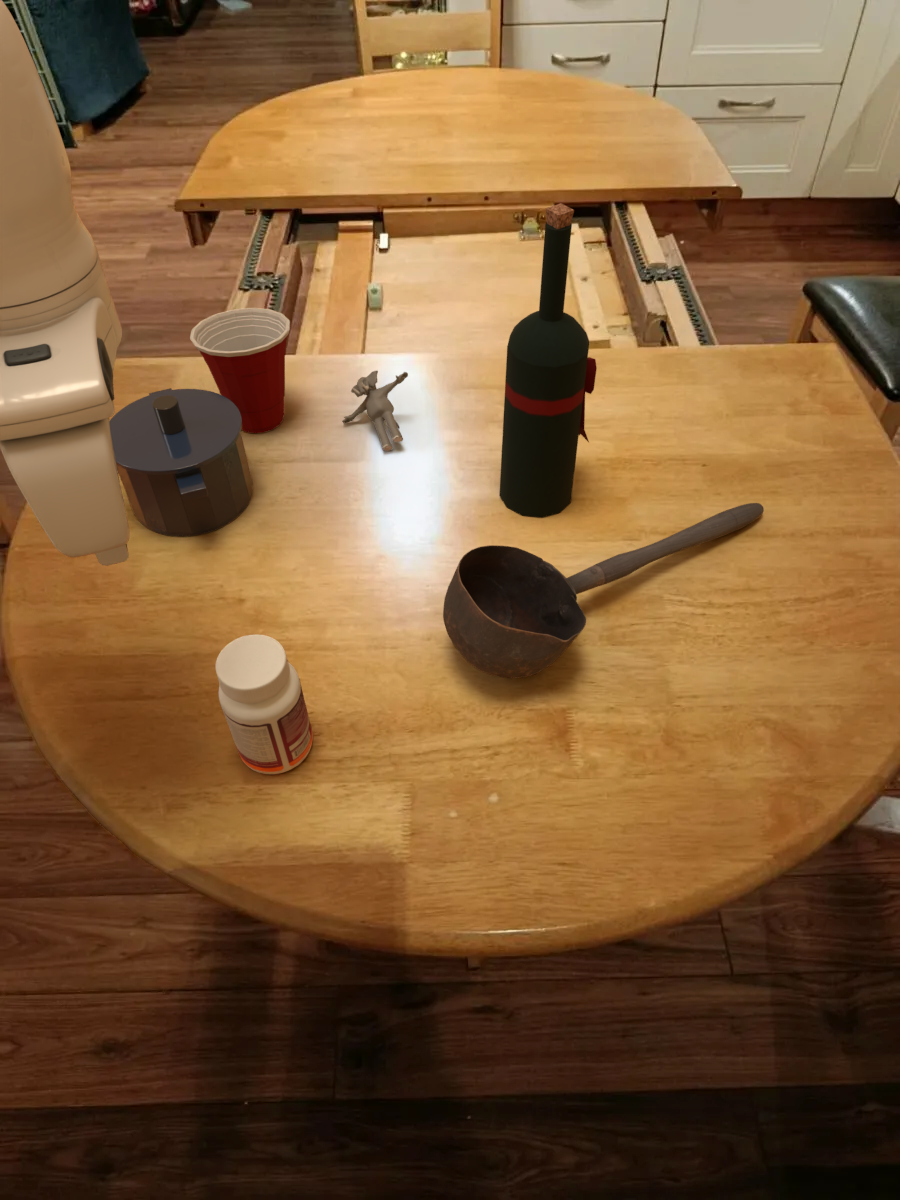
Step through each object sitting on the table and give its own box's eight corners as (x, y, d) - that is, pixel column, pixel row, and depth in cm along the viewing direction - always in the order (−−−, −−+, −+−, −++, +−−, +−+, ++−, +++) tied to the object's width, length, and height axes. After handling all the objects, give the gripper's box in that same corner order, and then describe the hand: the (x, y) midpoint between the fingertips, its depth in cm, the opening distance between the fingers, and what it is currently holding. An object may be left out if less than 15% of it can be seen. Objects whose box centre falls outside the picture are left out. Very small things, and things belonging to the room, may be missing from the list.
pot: (148, 567, 84) (123, 503, 78) (121, 462, 95) (97, 398, 89) (272, 532, 87) (257, 467, 81) (232, 435, 98) (216, 371, 92)
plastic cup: (295, 385, 105) (279, 294, 96) (314, 435, 98) (299, 342, 89) (207, 402, 103) (183, 310, 94) (220, 454, 96) (194, 361, 87)
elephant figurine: (345, 463, 95) (320, 398, 98) (377, 475, 100) (353, 413, 103) (411, 412, 90) (384, 346, 93) (442, 427, 95) (415, 364, 98)
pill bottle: (302, 704, 73) (281, 617, 64) (323, 761, 69) (303, 677, 60) (231, 728, 71) (200, 642, 63) (248, 788, 67) (218, 705, 59)
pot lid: (116, 494, 79) (102, 460, 76) (97, 415, 88) (84, 381, 85) (258, 458, 83) (250, 423, 80) (227, 385, 91) (218, 351, 88)
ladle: (406, 627, 75) (434, 543, 69) (679, 537, 97) (721, 467, 90) (482, 724, 70) (520, 643, 63) (754, 606, 91) (804, 536, 85)
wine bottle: (604, 490, 91) (650, 206, 69) (530, 528, 87) (553, 240, 65) (556, 453, 95) (585, 175, 73) (484, 487, 91) (491, 204, 69)
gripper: (-33, 243, 52) (47, 429, 62) (-32, 438, 39) (68, 631, 49) (75, 227, 53) (135, 411, 63) (110, 409, 40) (178, 602, 51)
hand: (106, 508), depth 56 cm, fingers open, 8 cm apart
